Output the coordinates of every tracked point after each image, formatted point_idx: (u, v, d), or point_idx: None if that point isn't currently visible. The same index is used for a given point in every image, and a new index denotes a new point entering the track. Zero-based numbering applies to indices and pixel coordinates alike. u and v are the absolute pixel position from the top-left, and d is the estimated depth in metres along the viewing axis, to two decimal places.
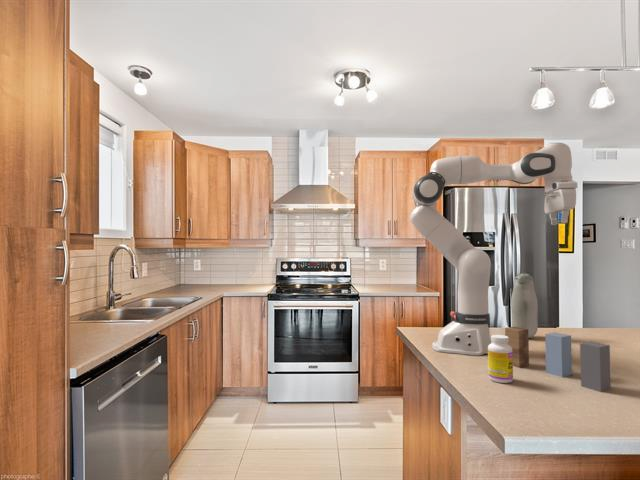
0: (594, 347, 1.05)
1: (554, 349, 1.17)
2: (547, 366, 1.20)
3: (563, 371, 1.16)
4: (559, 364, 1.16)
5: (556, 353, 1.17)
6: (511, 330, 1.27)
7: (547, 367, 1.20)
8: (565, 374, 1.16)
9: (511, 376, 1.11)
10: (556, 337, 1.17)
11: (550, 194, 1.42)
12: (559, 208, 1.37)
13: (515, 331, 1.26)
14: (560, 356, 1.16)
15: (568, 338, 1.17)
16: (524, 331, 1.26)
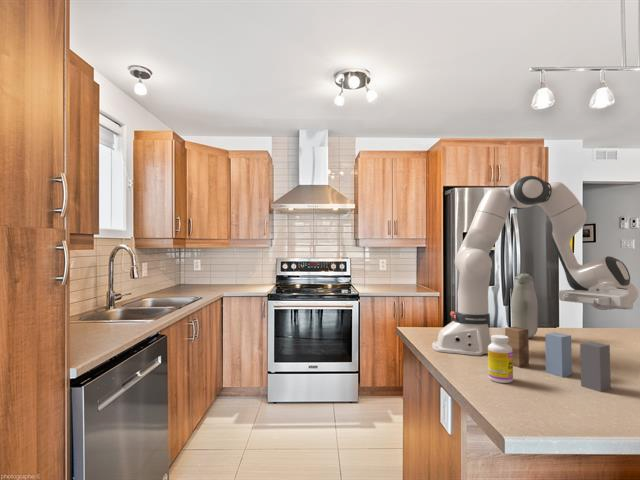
0: (594, 347, 1.05)
1: (554, 349, 1.17)
2: (547, 366, 1.20)
3: (563, 371, 1.16)
4: (559, 364, 1.16)
5: (556, 353, 1.17)
6: (511, 330, 1.27)
7: (547, 367, 1.20)
8: (565, 374, 1.16)
9: (511, 376, 1.11)
10: (556, 337, 1.17)
11: (601, 288, 1.29)
12: (608, 294, 1.22)
13: (515, 331, 1.26)
14: (560, 356, 1.16)
15: (568, 338, 1.17)
16: (524, 331, 1.26)
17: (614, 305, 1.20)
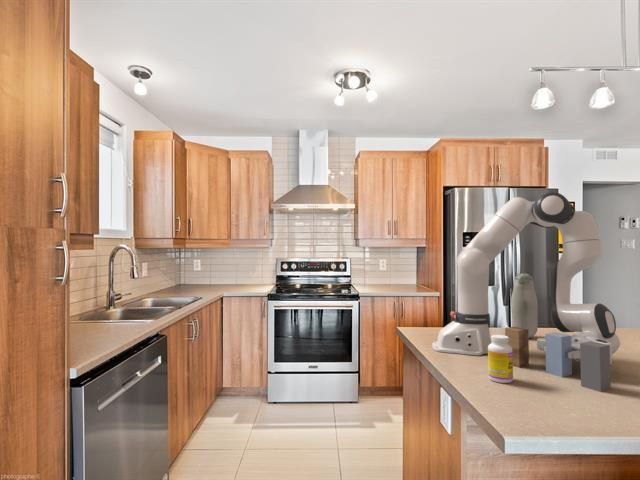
0: (594, 347, 1.05)
1: (554, 349, 1.17)
2: (547, 366, 1.20)
3: (563, 371, 1.16)
4: (559, 364, 1.16)
5: (556, 352, 1.17)
6: (511, 330, 1.27)
7: (547, 367, 1.20)
8: (565, 374, 1.16)
9: (511, 376, 1.11)
10: (556, 337, 1.17)
11: (579, 339, 1.23)
12: None
13: (515, 331, 1.26)
14: (560, 356, 1.16)
15: (568, 338, 1.17)
16: (524, 331, 1.26)
17: None
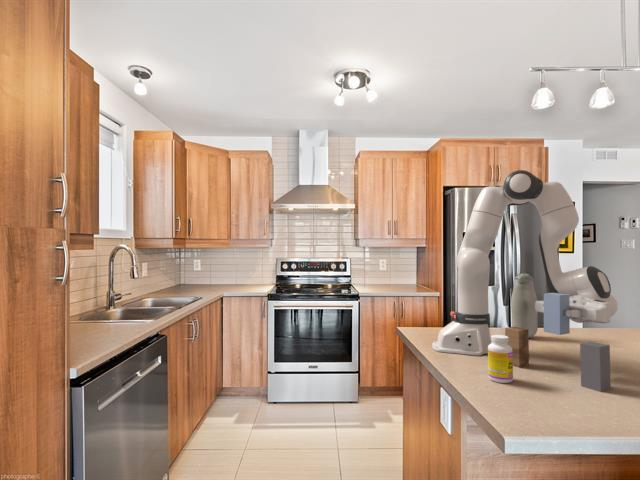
0: (594, 347, 1.05)
1: (553, 307, 1.18)
2: (545, 325, 1.20)
3: (561, 329, 1.16)
4: (556, 322, 1.17)
5: (555, 311, 1.17)
6: (511, 330, 1.27)
7: (545, 326, 1.20)
8: (563, 332, 1.17)
9: (511, 376, 1.11)
10: (554, 296, 1.17)
11: (578, 300, 1.23)
12: (584, 307, 1.16)
13: (515, 331, 1.26)
14: (558, 315, 1.16)
15: (566, 297, 1.18)
16: (524, 331, 1.26)
17: (590, 319, 1.14)
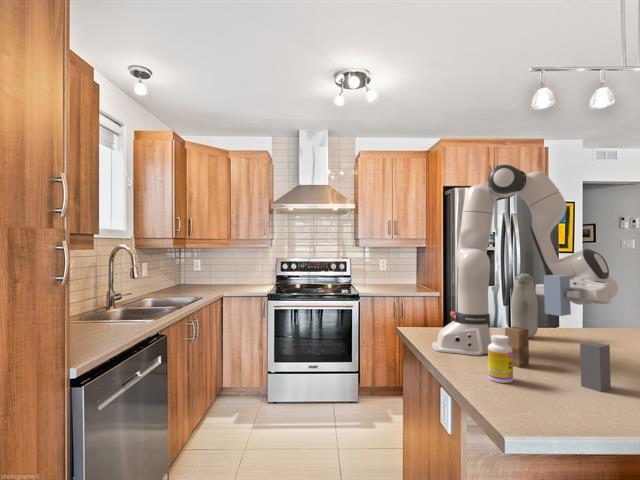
0: (594, 347, 1.05)
1: (553, 289, 1.18)
2: (546, 307, 1.20)
3: (562, 310, 1.16)
4: (557, 303, 1.17)
5: (555, 292, 1.17)
6: (511, 330, 1.27)
7: (546, 308, 1.20)
8: (564, 313, 1.17)
9: (511, 376, 1.11)
10: (555, 277, 1.18)
11: (578, 282, 1.23)
12: (584, 288, 1.16)
13: (515, 331, 1.26)
14: (558, 296, 1.17)
15: (567, 278, 1.18)
16: (524, 331, 1.26)
17: (590, 299, 1.14)
